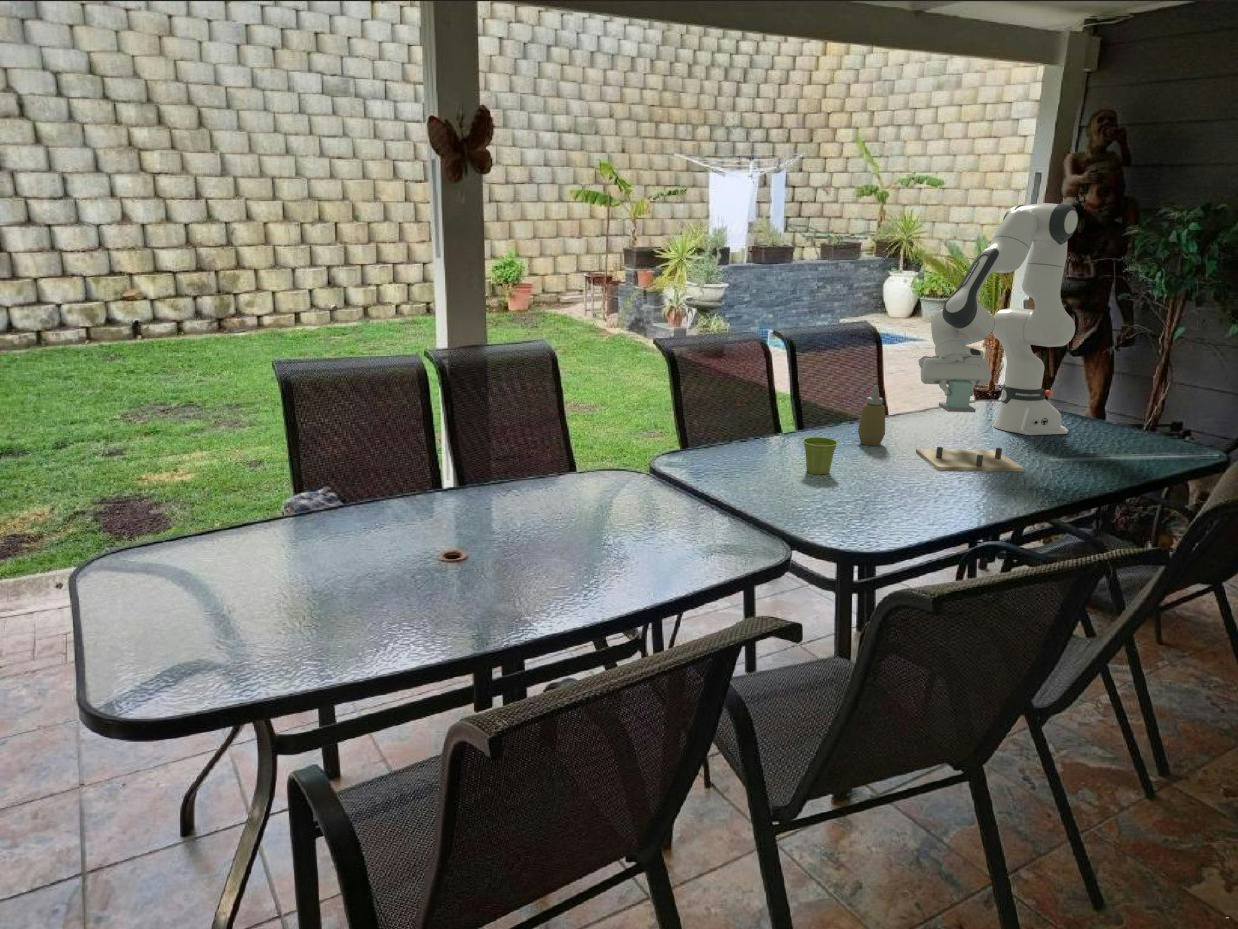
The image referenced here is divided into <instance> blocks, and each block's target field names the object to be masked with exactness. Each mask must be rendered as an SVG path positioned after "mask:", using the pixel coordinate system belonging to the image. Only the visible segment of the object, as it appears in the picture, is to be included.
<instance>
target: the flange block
mask: <svg viewBox="0 0 1238 929" xmlns="http://www.w3.org/2000/svg"><path fill="white" fill-rule="evenodd" d="M947 387H948V388H951V391H952V394H951V396H946V400H945V402H938V407H940V408H941V409H943V410H945V411H947V413H948V412H949V413H976V411H977V409H976V408H975V407H973V406H971V405H970V401H971V396H970V395H971V388H972V384H970V383H968V382H966V381H949V383H948V385H947Z"/></svg>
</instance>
